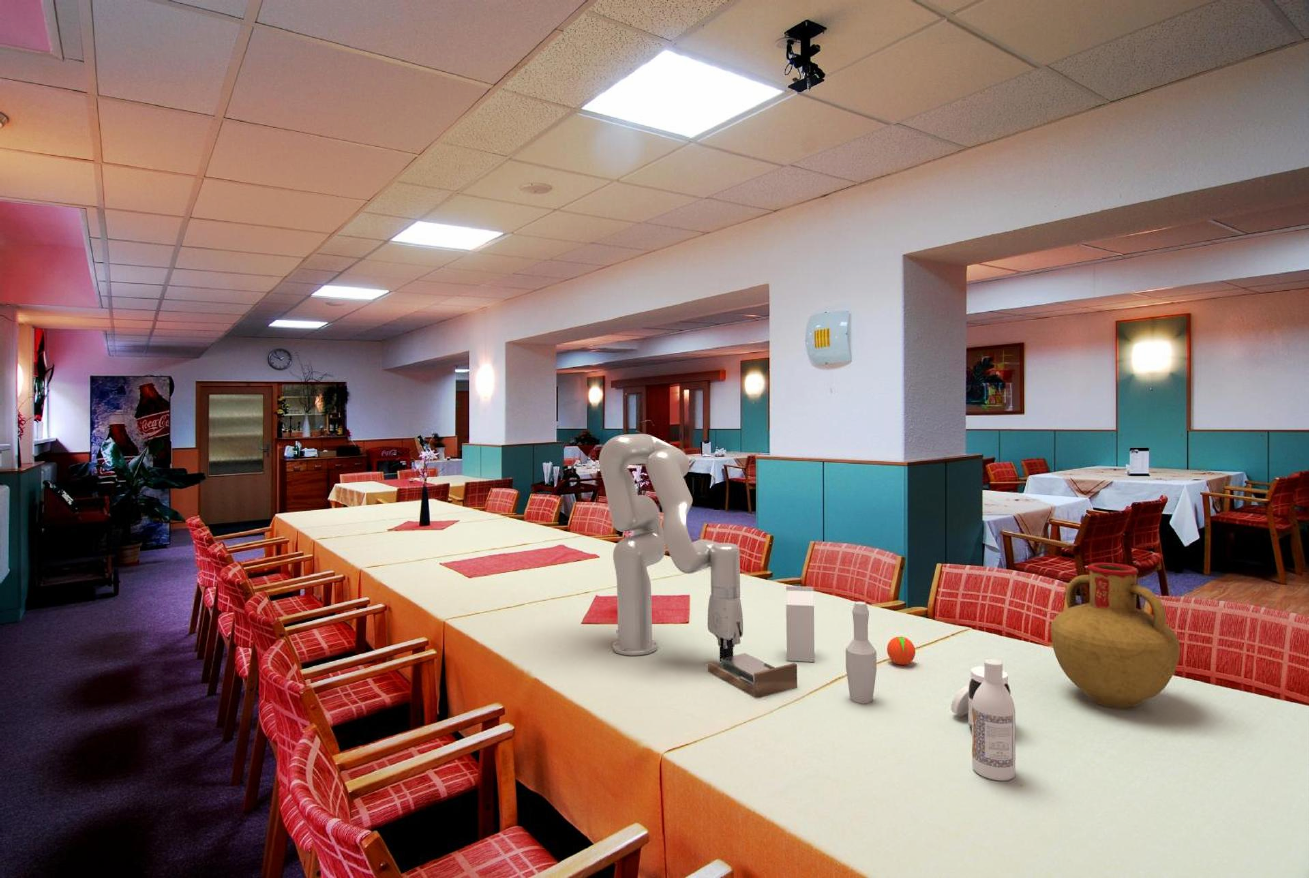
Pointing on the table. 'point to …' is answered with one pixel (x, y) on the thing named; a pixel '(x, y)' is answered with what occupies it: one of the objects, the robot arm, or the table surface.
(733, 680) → the lane
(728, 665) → the tin
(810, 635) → the milk carton
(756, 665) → the white square block
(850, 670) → the faceted bottle
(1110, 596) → the vase
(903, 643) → the clementine
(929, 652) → the table surface
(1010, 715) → the bath foam
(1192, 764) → the table surface
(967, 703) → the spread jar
